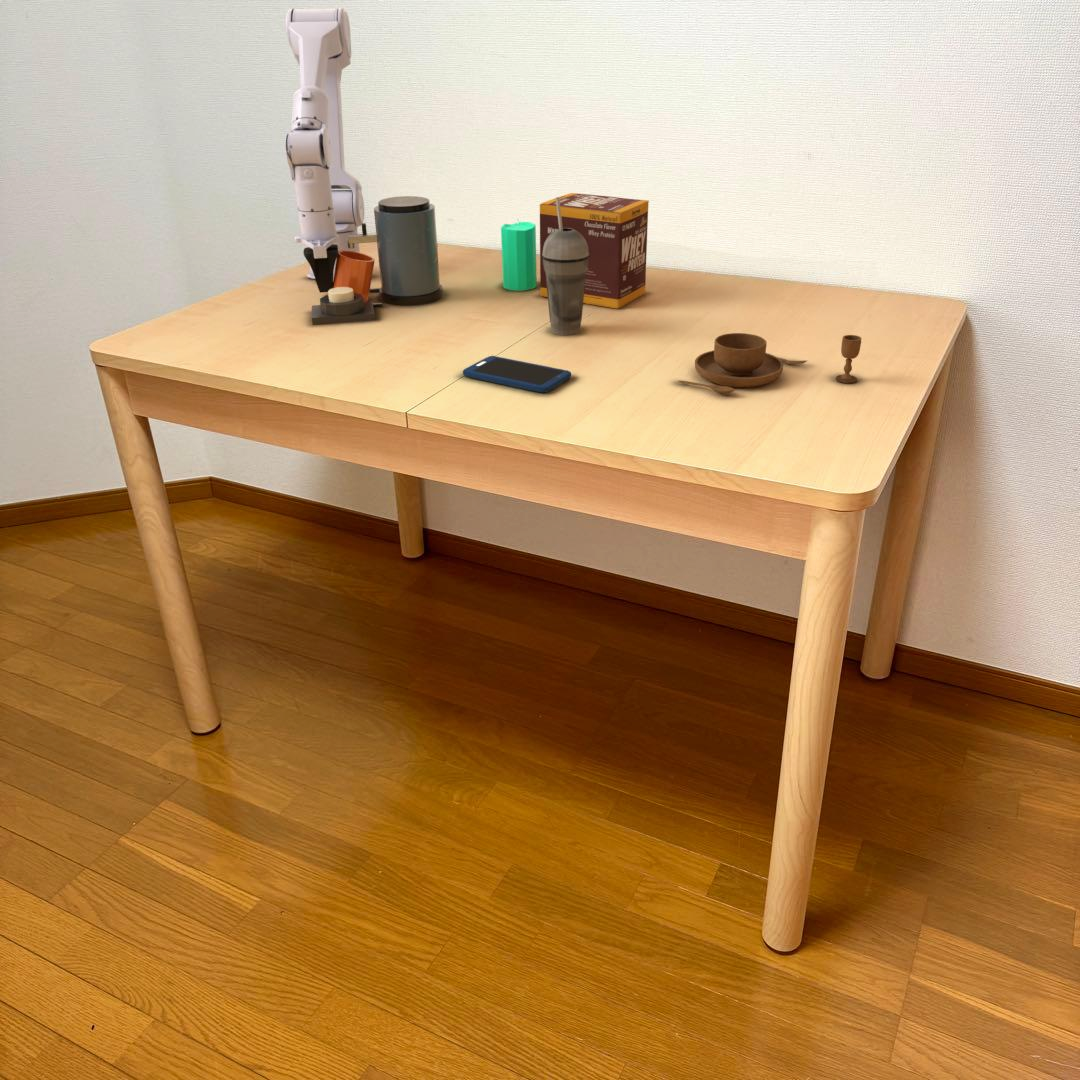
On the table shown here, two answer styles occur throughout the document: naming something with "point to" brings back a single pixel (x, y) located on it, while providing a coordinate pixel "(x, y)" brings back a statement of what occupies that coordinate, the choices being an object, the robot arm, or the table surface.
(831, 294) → the table surface
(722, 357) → the place setting
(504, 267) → the candle
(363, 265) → the cup
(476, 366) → the cell phone
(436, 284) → the dispenser
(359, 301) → the button block
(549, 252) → the beverage cup
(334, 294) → the button
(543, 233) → the supplement box
